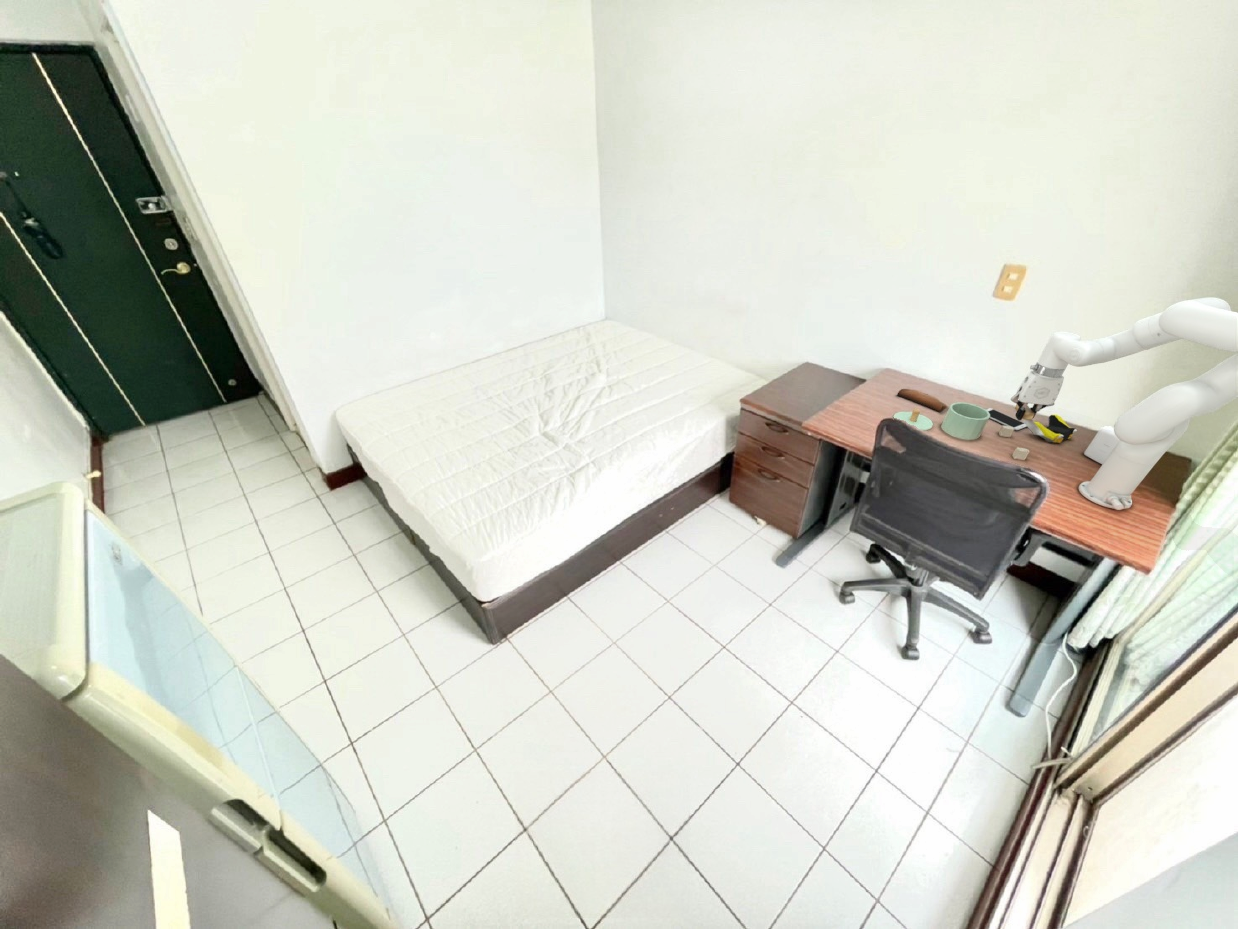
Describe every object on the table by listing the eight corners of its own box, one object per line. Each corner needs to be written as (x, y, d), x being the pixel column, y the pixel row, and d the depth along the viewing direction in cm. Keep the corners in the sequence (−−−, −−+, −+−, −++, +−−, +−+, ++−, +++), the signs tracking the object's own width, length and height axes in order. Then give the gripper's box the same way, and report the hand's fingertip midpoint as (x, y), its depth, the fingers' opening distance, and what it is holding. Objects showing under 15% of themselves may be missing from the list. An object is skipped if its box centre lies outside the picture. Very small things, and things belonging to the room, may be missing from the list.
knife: (1033, 434, 159) (1037, 427, 158) (1013, 408, 174) (1016, 401, 172) (1043, 435, 158) (1047, 428, 157) (1022, 409, 173) (1026, 402, 172)
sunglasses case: (950, 406, 196) (951, 396, 191) (939, 418, 195) (940, 409, 190) (906, 390, 208) (907, 380, 203) (896, 401, 207) (896, 392, 202)
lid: (935, 434, 180) (941, 421, 177) (895, 429, 183) (900, 416, 180) (927, 416, 191) (933, 404, 187) (890, 412, 194) (894, 399, 190)
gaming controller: (1023, 434, 180) (1052, 447, 173) (1030, 421, 177) (1060, 434, 169) (1046, 424, 185) (1076, 437, 178) (1054, 412, 182) (1084, 424, 175)
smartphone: (990, 407, 194) (1029, 425, 183) (989, 408, 195) (1028, 426, 184) (978, 411, 192) (1017, 429, 181) (977, 413, 192) (1016, 431, 181)
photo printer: (1080, 453, 169) (1100, 423, 162) (1089, 452, 170) (1110, 421, 163) (1110, 470, 161) (1133, 439, 154) (1120, 468, 162) (1144, 437, 155)
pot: (983, 443, 175) (994, 421, 170) (944, 437, 178) (954, 416, 173) (973, 425, 185) (984, 404, 180) (937, 421, 188) (946, 400, 183)
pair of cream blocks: (1024, 460, 167) (1029, 451, 164) (1013, 458, 167) (1018, 450, 165) (1008, 434, 180) (1012, 426, 178) (998, 433, 180) (1002, 425, 178)
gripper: (1024, 372, 158) (1000, 421, 168) (1083, 377, 154) (1054, 427, 165) (1016, 363, 164) (993, 411, 174) (1072, 368, 160) (1045, 417, 170)
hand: (1023, 418), depth 169 cm, fingers closed on knife, 2 cm apart
